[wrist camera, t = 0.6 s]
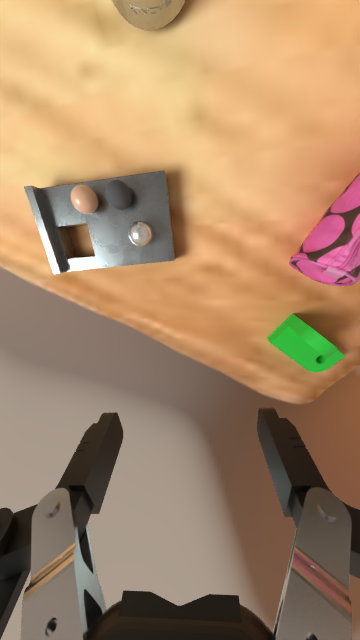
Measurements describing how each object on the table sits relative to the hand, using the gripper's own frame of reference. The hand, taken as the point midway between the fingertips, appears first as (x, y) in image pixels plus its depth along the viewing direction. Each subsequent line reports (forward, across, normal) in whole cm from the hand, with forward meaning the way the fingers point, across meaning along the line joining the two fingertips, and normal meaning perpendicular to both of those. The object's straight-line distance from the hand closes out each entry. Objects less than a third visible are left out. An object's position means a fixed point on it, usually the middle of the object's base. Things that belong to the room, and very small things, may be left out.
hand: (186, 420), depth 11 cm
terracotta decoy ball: (+21, +12, -15) cm, 28 cm away
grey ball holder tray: (+25, +11, -12) cm, 29 cm away
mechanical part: (+25, -20, +11) cm, 34 cm away
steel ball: (+21, +6, -10) cm, 24 cm away
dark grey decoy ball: (+21, +8, -15) cm, 27 cm away
